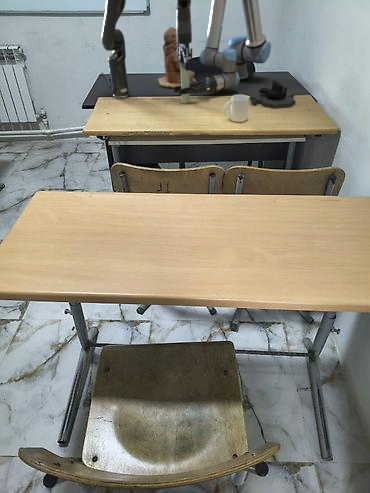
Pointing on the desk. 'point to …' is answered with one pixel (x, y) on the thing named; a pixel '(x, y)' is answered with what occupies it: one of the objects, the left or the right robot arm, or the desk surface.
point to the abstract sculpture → (273, 96)
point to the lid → (182, 64)
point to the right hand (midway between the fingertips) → (176, 91)
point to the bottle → (185, 85)
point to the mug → (238, 108)
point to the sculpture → (172, 61)
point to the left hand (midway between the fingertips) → (184, 68)
